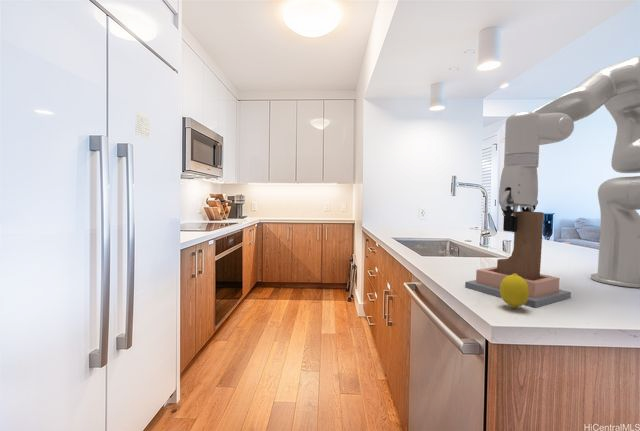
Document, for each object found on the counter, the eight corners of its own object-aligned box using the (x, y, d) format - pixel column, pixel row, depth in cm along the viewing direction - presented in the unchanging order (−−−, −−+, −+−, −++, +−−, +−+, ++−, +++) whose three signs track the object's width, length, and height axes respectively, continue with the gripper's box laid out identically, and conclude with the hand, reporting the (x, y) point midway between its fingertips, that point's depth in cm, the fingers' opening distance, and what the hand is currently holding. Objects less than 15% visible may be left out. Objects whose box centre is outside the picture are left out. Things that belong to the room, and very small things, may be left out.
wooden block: (495, 275, 84) (499, 210, 83) (507, 274, 85) (511, 210, 84) (527, 283, 75) (532, 212, 74) (540, 282, 77) (544, 212, 76)
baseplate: (500, 280, 92) (500, 264, 92) (570, 297, 76) (571, 278, 76) (465, 287, 85) (465, 269, 84) (535, 307, 69) (536, 286, 68)
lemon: (494, 303, 71) (496, 270, 71) (519, 304, 71) (521, 271, 70) (506, 312, 66) (508, 276, 65) (533, 313, 65) (535, 277, 65)
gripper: (524, 165, 86) (521, 228, 87) (486, 161, 78) (483, 231, 79) (555, 162, 79) (551, 231, 80) (516, 158, 71) (513, 234, 72)
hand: (517, 230), depth 79 cm, fingers open, 6 cm apart
